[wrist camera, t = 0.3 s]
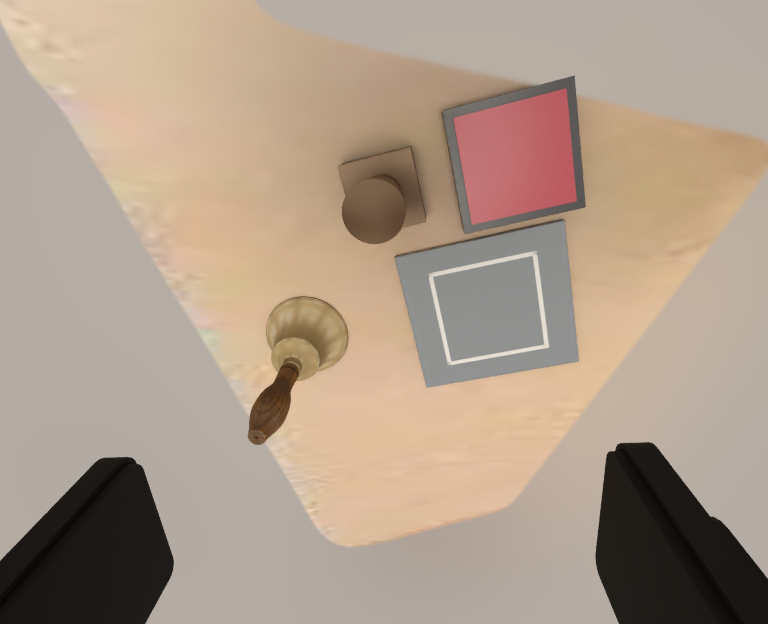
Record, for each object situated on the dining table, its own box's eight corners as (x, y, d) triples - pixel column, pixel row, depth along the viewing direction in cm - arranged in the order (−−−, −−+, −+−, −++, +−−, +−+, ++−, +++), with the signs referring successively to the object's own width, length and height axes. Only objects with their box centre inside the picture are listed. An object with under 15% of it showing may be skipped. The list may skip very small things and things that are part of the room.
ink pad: (441, 111, 37) (442, 111, 36) (568, 77, 36) (575, 75, 34) (463, 229, 41) (465, 234, 39) (579, 204, 39) (586, 207, 38)
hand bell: (364, 346, 46) (339, 451, 32) (300, 383, 49) (249, 498, 34) (314, 280, 44) (262, 361, 29) (250, 323, 46) (171, 417, 31)
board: (395, 256, 42) (394, 258, 42) (562, 219, 40) (564, 220, 39) (426, 384, 47) (426, 388, 47) (577, 358, 45) (579, 361, 44)
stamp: (342, 163, 40) (317, 177, 30) (410, 145, 39) (407, 154, 29) (360, 230, 42) (342, 265, 32) (425, 215, 41) (427, 246, 31)
